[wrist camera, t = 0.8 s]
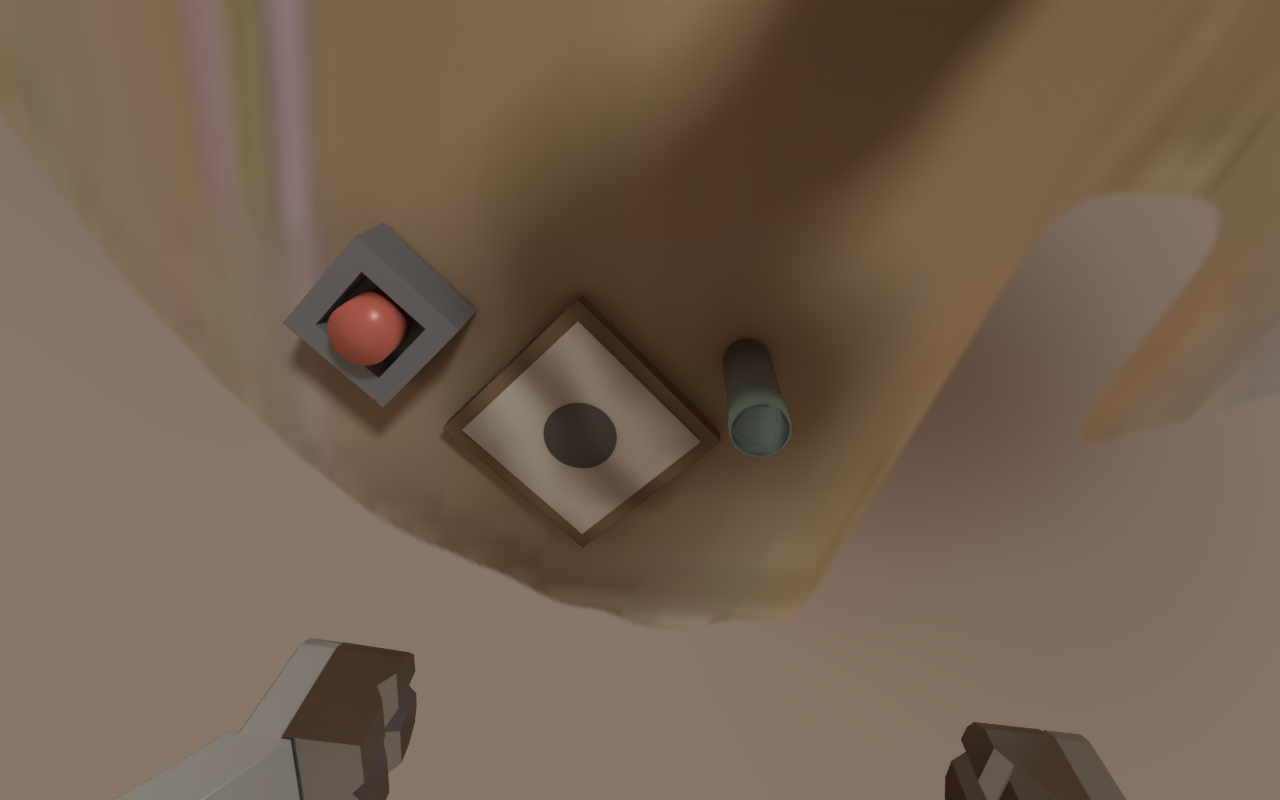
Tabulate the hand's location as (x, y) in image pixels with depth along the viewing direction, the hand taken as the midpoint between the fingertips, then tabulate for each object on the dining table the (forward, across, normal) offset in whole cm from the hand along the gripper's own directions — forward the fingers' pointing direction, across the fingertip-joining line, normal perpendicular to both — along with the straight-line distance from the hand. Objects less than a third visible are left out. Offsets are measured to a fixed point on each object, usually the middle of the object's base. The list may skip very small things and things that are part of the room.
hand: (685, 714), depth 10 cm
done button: (+34, +19, +7) cm, 39 cm away
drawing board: (+36, +5, +15) cm, 40 cm away
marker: (+36, -5, +8) cm, 37 cm away
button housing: (+36, +19, +7) cm, 42 cm away
